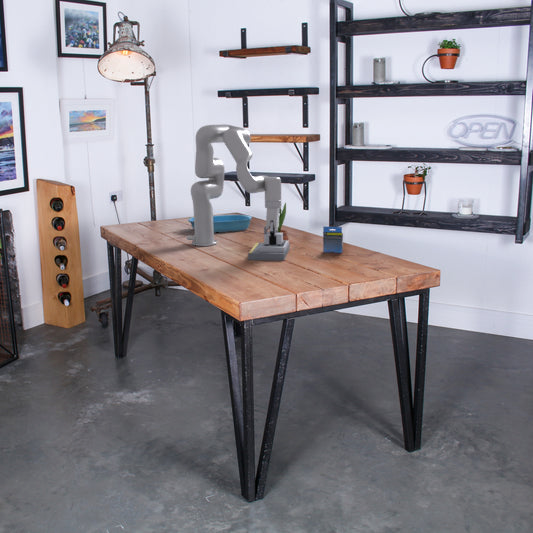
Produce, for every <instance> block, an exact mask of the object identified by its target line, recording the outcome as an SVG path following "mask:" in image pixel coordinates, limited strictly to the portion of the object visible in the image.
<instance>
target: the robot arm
mask: <svg viewBox="0 0 533 533" xmlns="http://www.w3.org/2000/svg"><path fill="white" fill-rule="evenodd" d="M251 140H252V138H251V134H250V132H249V131H248V130H247V129H246V128H243V127H239V126H234V125H230V124H207V125H204V126H201V127H200V128H199V129H198V130H197V131H196V134H195V164H194V174H195V176H196V177H197V178H199V179H203V180H199V181H195V182H194V183H193V184H192V185H191V187H190V197H191V200H192V206H193V217H194V234H193V235H186V240H188V241H192V242H191V245H193V246H195V245H196V246H197V247H209V246H210V247H211V246H215V245H217V244H218V240H217V239H215V237H214V236H215V235H214V234H215V233H214V228H213V216H214V208H213V206H212V203H211V200H213V199H218V198H219V197H221V196H222V194H223V193H224V192H223V191H224V184H225V165H224V162H223V161H222V160H221V159H220V158H218V157H214V147H213V144H215V143H216V144H219V143H220V144H221V143H224V145H225V146H226V148H227V149H228V151H229V153H230V155H231V157H232V158H233V160H234V162H235V163H236V167H235V171H236V177H237V180H238V181H239V183H240V186H242V188H243V189H244V191H245V192H247V193H249V194H257V193H263V192H264V208H265V209H266V216H265V217H266V220H265V221H266V222H265V223H266V225H265V226H266V229H267V231H268V230H269V231H268V232H269V245H276V233H278V232H277V230H278V227H279V216H280V213H279V208H281V209H282V179H281V177H280V176H270V175H265V174H264V175H263V174H262V175H255V176H253V175H252V174H251V172H250V170H249V168H248V163H249V161H250V160H252V158H253V153H252V151H251V149H250V148H249V146H248V145H249V144H250V143H251ZM204 179H205V180H204Z"/></svg>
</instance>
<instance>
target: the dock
mask: <svg viewBox="0 0 533 533" xmlns="http://www.w3.org/2000/svg"><path fill="white" fill-rule="evenodd" d="M289 251H290V241H289V240H288V241H283V243H282V244H281V246H278V245H277V244H276V245H268V246H266V245H265V244H264V242H255V244H254V245H253V247H252V248H251V249H250V250H249V252H248V255H247V257H248V261H285V259H286V257H287V255H288V253H289Z"/></svg>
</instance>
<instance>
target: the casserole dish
mask: <svg viewBox="0 0 533 533" xmlns="http://www.w3.org/2000/svg"><path fill="white" fill-rule="evenodd" d="M252 218H253V216H252V215H247V214H246V215H245V214H221V215H213V228H214V234H215V233H216V232H219V233H231V232H230V231H232V232H241V230H242V231H247V229H248V228H249V226H250V224H251V220H252ZM187 221H188V222H189V223H190V225H191V228H192V229H194V216H193V217H190V218H189V219H187ZM194 230H195V229H194ZM216 234H217V233H216Z"/></svg>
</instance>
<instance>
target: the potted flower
mask: <svg viewBox="0 0 533 533" xmlns="http://www.w3.org/2000/svg"><path fill="white" fill-rule="evenodd" d="M286 214H287V202H284V205H283V207H281V208H279V227H278V228H277V232H278V233H283V241H289V235H288V231H287V230H285V229H282V226H283V224H284V221H285V218H286Z"/></svg>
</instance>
